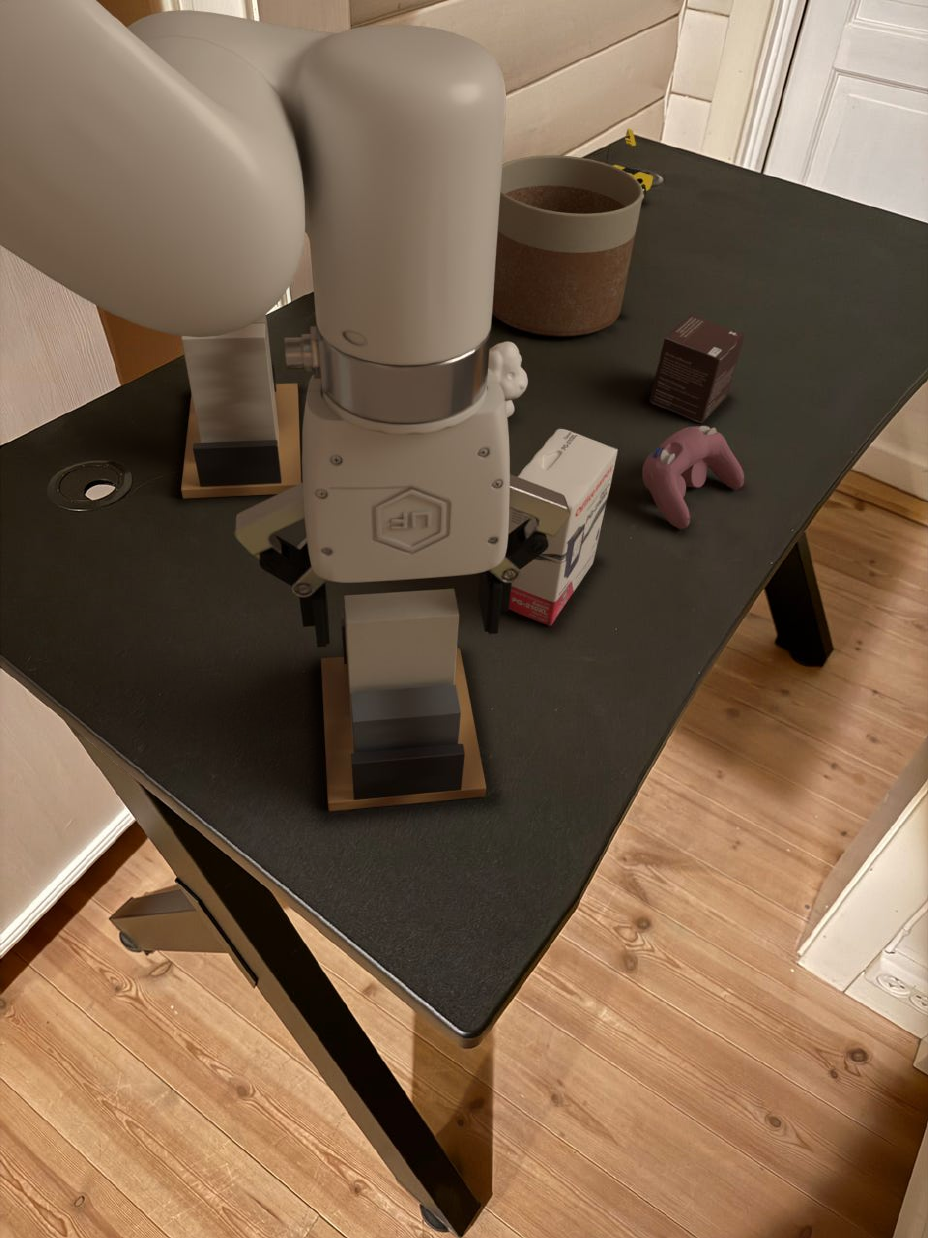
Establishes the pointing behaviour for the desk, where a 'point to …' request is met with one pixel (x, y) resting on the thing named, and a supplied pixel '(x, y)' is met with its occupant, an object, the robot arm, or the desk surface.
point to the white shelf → (239, 418)
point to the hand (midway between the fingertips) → (406, 622)
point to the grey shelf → (346, 743)
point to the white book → (401, 639)
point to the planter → (563, 244)
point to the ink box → (585, 485)
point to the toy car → (642, 178)
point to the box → (696, 368)
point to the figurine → (508, 372)
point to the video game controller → (688, 469)
